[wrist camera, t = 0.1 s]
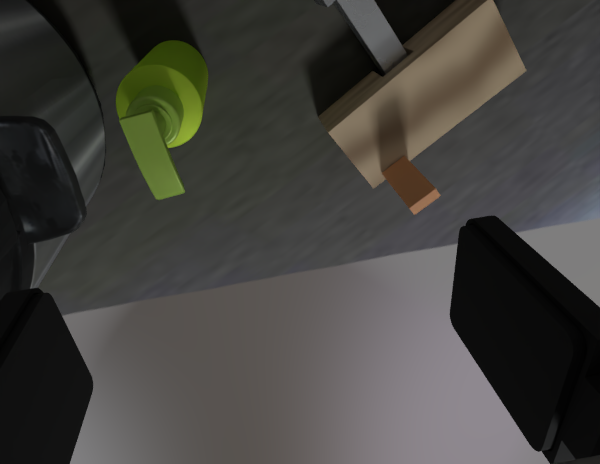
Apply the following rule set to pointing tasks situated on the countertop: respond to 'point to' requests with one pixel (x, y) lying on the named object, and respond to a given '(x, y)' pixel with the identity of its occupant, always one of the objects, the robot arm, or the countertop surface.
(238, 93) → the countertop surface
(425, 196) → the bar
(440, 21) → the block
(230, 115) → the countertop surface
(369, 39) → the lynch pin
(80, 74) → the pressure cooker
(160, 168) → the soap dispenser
